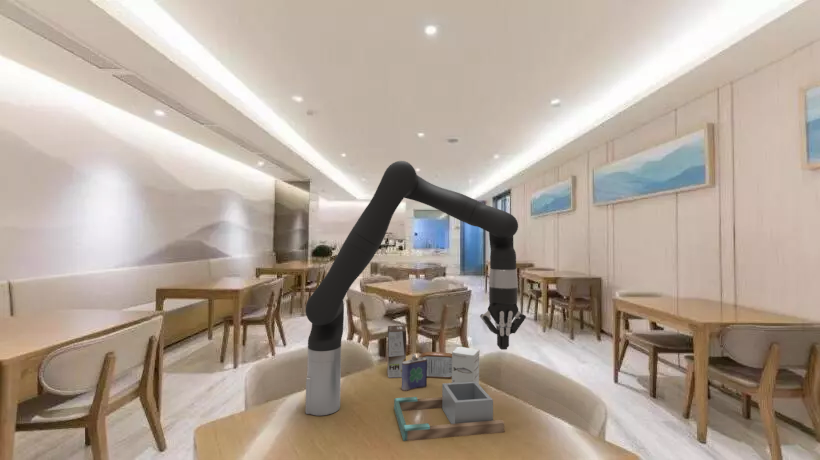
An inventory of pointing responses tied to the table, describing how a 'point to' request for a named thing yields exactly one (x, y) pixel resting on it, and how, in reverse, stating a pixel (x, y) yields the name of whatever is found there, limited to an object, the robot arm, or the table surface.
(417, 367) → the flask
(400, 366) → the coffee box
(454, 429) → the bar
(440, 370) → the tin
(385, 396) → the table surface
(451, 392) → the grey storage bin
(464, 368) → the supplement box
